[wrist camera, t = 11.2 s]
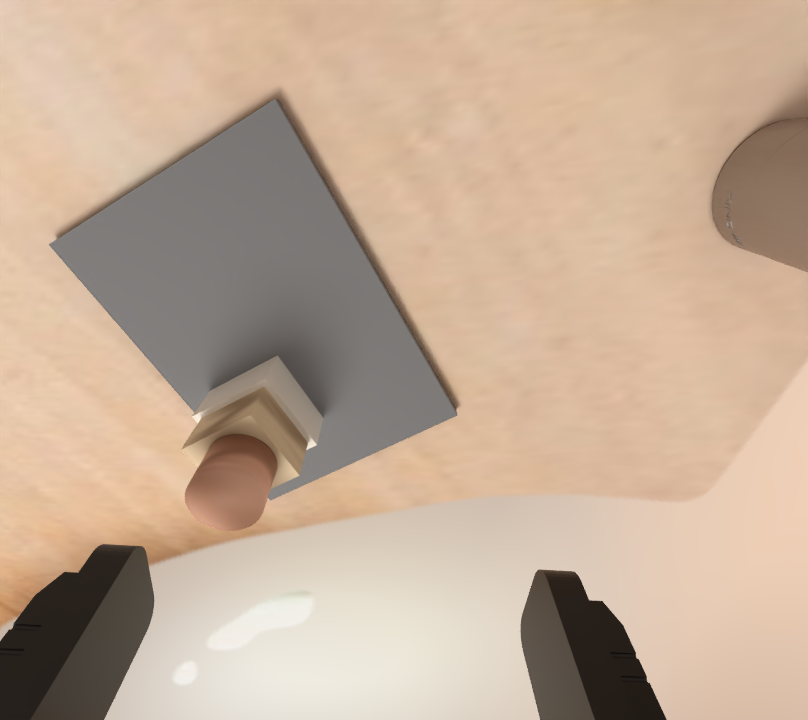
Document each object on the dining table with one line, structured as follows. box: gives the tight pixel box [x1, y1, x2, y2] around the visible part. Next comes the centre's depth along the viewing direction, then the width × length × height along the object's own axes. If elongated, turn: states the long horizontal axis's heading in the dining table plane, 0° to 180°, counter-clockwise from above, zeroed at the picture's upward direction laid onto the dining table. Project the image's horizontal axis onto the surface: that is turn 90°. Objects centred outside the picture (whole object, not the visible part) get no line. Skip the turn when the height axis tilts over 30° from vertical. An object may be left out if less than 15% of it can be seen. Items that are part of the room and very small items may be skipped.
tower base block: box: [192, 355, 323, 450], centre depth 40 cm, size 7×7×4 cm
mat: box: [49, 99, 457, 500], centre depth 39 cm, size 20×28×1 cm
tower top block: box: [181, 386, 308, 489], centre depth 36 cm, size 6×6×4 cm
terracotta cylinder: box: [185, 434, 277, 531], centre depth 33 cm, size 5×5×4 cm
